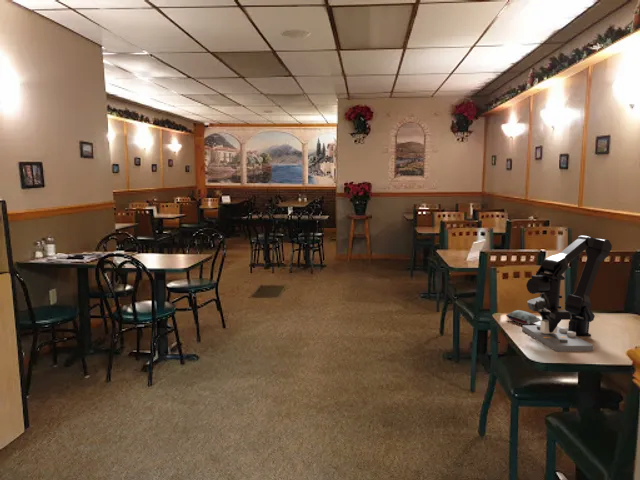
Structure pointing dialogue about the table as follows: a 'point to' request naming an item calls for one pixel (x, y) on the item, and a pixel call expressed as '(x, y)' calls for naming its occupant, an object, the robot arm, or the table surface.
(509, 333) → the table surface
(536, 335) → the console
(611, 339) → the table surface
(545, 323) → the block
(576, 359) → the table surface
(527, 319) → the packaged food
